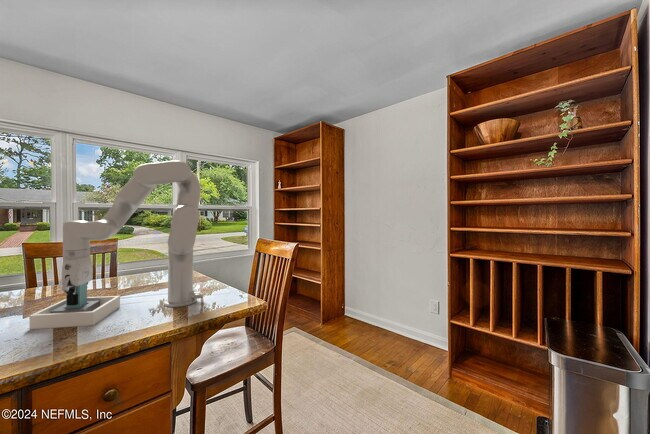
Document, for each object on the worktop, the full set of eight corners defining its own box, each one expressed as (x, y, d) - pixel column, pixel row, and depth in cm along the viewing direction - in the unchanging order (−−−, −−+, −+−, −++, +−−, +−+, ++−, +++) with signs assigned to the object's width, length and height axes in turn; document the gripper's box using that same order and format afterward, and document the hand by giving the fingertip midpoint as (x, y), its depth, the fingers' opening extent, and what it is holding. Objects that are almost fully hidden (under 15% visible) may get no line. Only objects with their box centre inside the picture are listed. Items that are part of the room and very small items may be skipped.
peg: (87, 307, 104) (86, 281, 104) (79, 311, 100) (79, 284, 100) (74, 308, 103) (73, 281, 103) (66, 312, 99) (66, 284, 99)
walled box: (120, 306, 111) (120, 295, 111) (93, 325, 93) (93, 312, 93) (67, 309, 107) (67, 298, 107) (29, 329, 89) (29, 315, 89)
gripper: (73, 257, 94) (73, 310, 94) (101, 250, 110) (101, 295, 110) (47, 258, 92) (47, 311, 92) (79, 250, 108) (79, 296, 109)
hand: (77, 302), depth 101 cm, fingers closed on peg, 4 cm apart
